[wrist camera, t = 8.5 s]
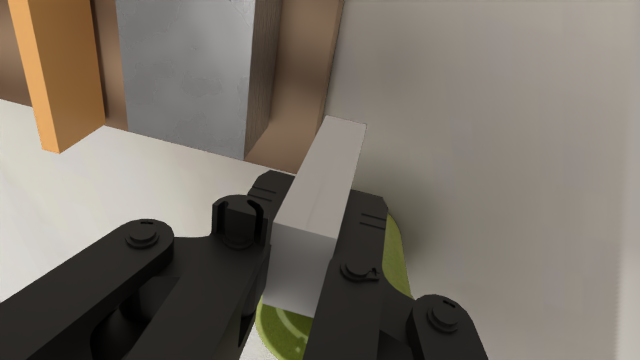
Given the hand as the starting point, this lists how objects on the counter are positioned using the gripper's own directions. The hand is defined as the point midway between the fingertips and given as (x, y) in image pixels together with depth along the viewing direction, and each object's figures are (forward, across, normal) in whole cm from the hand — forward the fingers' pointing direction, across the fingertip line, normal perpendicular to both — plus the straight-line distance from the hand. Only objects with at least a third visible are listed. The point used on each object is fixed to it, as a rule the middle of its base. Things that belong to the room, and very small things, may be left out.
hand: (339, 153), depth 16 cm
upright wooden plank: (+7, +15, -1) cm, 17 cm away
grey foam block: (+7, +8, -1) cm, 11 cm away
